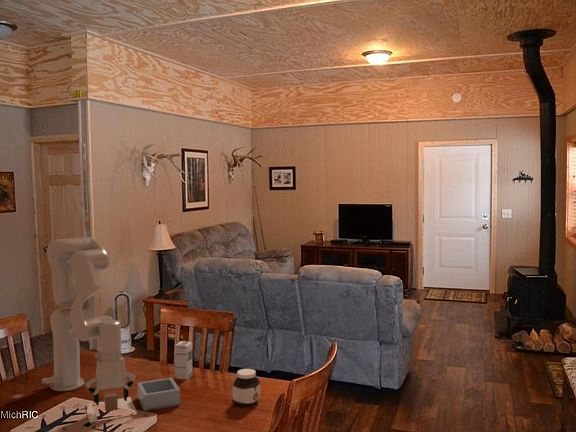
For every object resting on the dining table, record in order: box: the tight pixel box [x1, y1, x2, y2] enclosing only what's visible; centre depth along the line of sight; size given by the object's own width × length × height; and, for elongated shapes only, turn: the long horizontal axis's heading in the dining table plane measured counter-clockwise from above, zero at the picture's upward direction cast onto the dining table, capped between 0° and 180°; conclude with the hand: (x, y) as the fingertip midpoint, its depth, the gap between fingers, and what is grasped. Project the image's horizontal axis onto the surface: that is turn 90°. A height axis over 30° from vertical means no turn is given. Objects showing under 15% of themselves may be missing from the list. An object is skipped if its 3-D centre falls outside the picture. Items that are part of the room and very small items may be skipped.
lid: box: [86, 392, 137, 424], centre depth 189 cm, size 16×16×6 cm
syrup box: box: [174, 340, 194, 380], centre depth 222 cm, size 6×6×14 cm
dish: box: [137, 377, 181, 412], centre depth 197 cm, size 13×13×6 cm
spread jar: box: [232, 368, 261, 407], centre depth 199 cm, size 12×11×12 cm
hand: (111, 402), depth 189 cm, fingers open, 9 cm apart
